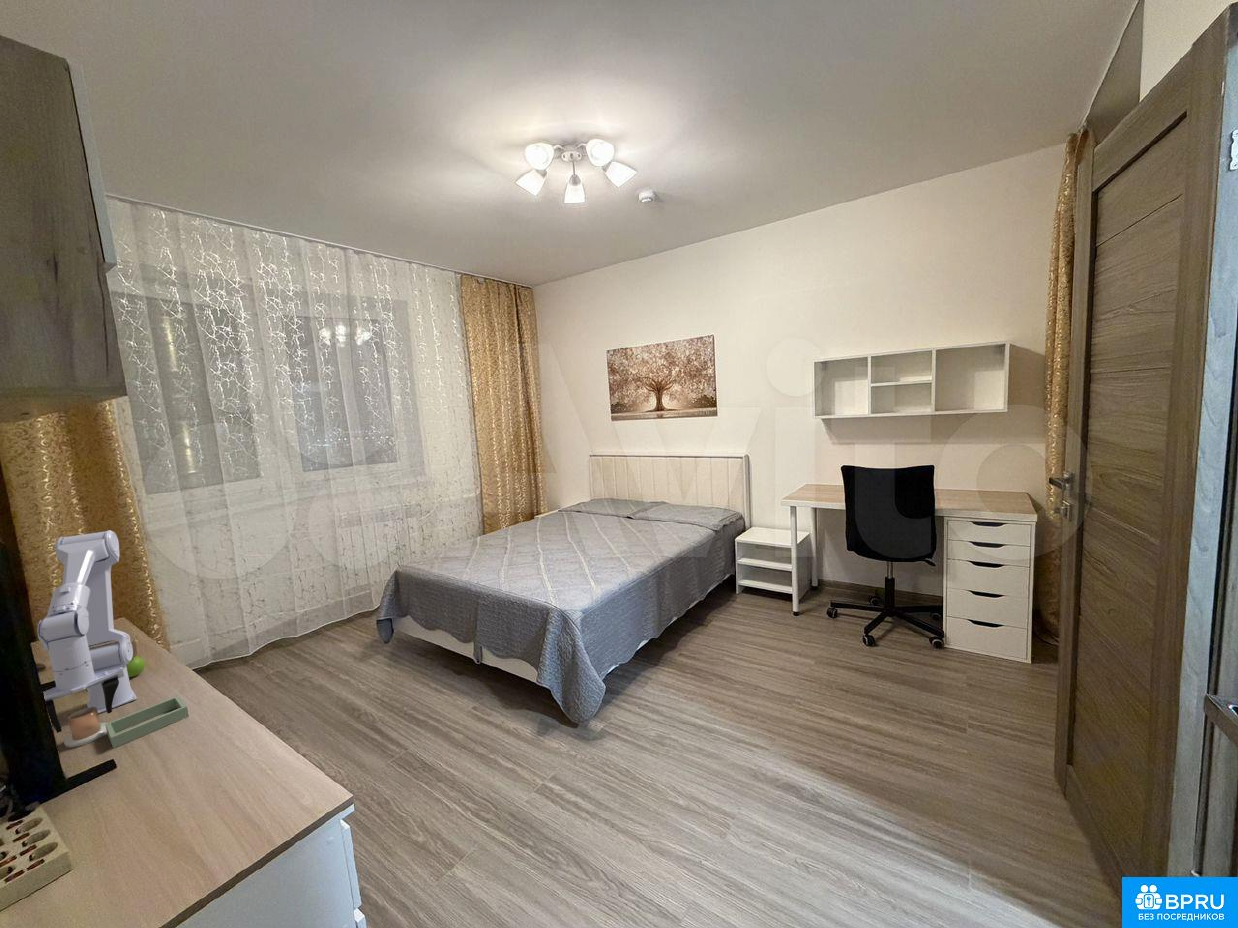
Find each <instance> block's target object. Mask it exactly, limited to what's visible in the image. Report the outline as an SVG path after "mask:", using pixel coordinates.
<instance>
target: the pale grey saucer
mask: <svg viewBox="0 0 1238 928" xmlns="http://www.w3.org/2000/svg"><path fill="white" fill-rule="evenodd" d="M107 723H108V722H100V725H101V730H100V731H98V732H97V733H95V734H94V735H92V736H89V737H87V738H84V739H80V740H73V739H72V734H71V733H70V735H68V736H67V737H66V738H65V739H64V741H63V743H64V746H65V748H69V749H72V748H78V747H81V746H85V745H88V744H90V743H92V742H95V741H97V740H99V739H101V738H102V737H104V736H106V735H107V730H106V726H105V724H107Z"/></svg>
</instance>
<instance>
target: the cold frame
mask: <svg viewBox="0 0 1238 928" xmlns="http://www.w3.org/2000/svg"><path fill="white" fill-rule="evenodd" d="M177 708H178V709H177ZM171 710H172V711H171ZM169 711H170V712H169ZM167 712H168V713H167ZM163 713H165V714H163ZM161 714H162V715H161ZM189 715H190V714H189V710H188V706H187V704H186V703H185V702H184V701H183V700H182V698H181V696H180V695H176V696H173V697H171V698H170V697H169V698H168V699H166V700H162V701H160V702H158V703H156V704H153V705H151V706H148V707H145V708H143V709H139V710H138V711H135V712H132V713H129V714H128V715H127V714H126V715H125V716H123V717H120V718H116V719H115V720H112V721H109V722H106V723H107V724H105V726H106V730H107V734H106V735H107V737H108V739H109V741H110V743H111V745H112V748H113V749H115V748H118V747H119V746H122V745H124V744H127V743H130V742H132V741H134V740H136V739H138V738H141V737H144V736H146V735H149V734H150V733H153V732H155V731H158V730H159V729H162V728H165V727H167V726H170V725H172V724H173V723H176V722H179V721H181V720H183V718H184V719H185V718H186V719H187V717H188V718H189V717H190V716H189ZM151 718H152V719H151ZM149 719H150V720H149ZM146 720H147V721H146ZM137 724H138V725H137ZM132 726H133V727H132ZM129 727H130V728H129ZM127 728H128V729H127ZM122 730H123V731H122ZM120 731H121V732H120ZM117 732H118V733H117Z"/></svg>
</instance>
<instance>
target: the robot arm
mask: <svg viewBox="0 0 1238 928" xmlns="http://www.w3.org/2000/svg"><path fill="white" fill-rule="evenodd" d="M54 550H55V551H54V552H55V554H56V555H55V556H56V557H57V559H58V560H59V561H60V563H61V564H62V565H63V573H62V574H63V575H62V583H61V586H58V587H57V588H55V589H54V590H53V592H52V596H51V600H50V604H49V607H48V612H47V614H46V616H45V618H43V619H40V620H39V622H38V623H37V630H36V631H37V638H38V640H39V641H40V643H41V644H42V646H43V650H44V651H45V652H47V653H48V655H49V660H50V664H51V668H52V669H51V670H52V673H53V678H54V682H55V687H51V688H50V689H48V690H45V691H42V692H43V693H44V699H45V703H46V706H47V709H48V713H49V716H50V719H51V722H50V723H52V724H51V725H52V726H53V727H54V729H55V731H56V733H57V734H59V733H61V732H62V731H63V729H62V727H61V722H60V720H59V717H58V715H57V711H56V710H57V709H56V706H55V702H54V701H55V700H56V699H61V698H62V697H65V696H69V695H73V694H75V693H78V692H82V691H84V690H86V689H87V693H88V694H87V695H88V698H89V701H87V702H86V706H87V708H90V707H96V708H97V711H98V714H101V713H103V712H106V713H107V714H110V713H112V712H113V709H115V708H117V707H119V706H122V705H124V704H128V703H130V702H132V701H135V700H136V699H137V695H136V694H135V692H134V690H133V689H132V687H131V683H130V677H128V672H127V667H126V664H128V663H129V662H130V661H131V660H132V657H133V648H132V644H131V642H132V641H131V636H130V635H129V634H128V633H127V632H125V631H121V630H118V629H115V625H114V613H113V612H114V610H113V609H114V608H113V607H114V606H113V594H112V591H113V590H112V578H111V577H112V575H111V574H112V573H111V572H112V566H113V565H115V564H116V563H118V562H120V555H121V554H120V543H119V539H118V535H117V534H116V532H114V531H113V530H111V529H109V530H106V531H99V532H92V533H87V534H78V535H69V536H61V537H59V538H58V539H57V540H56V541H55V544H54ZM115 641H116V642H115ZM106 643H107V644H106Z"/></svg>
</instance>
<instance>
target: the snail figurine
mask: <svg viewBox="0 0 1238 928" xmlns="http://www.w3.org/2000/svg"><path fill="white" fill-rule="evenodd" d="M138 637H139V635H135V636H133V637H132V639H133V640H132V641H131V644H132V648H133V657H132V660H131V661H130V662H129V663H128V664H126V667H127V672H128V677H129V678H134V677H136V676H138V675H140V674H141V673H142V672H143V671H144V670H145V668H146V661H145V659H144V658H142V657H141V656H138V653H139V640H138Z"/></svg>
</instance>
